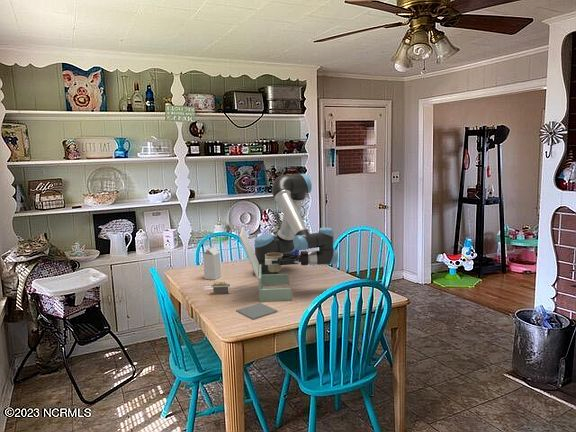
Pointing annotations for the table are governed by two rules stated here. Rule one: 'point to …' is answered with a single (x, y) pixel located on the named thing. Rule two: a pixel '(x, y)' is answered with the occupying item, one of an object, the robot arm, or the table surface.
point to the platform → (220, 288)
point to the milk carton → (211, 263)
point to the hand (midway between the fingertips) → (265, 259)
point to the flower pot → (274, 267)
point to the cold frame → (273, 294)
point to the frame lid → (249, 251)
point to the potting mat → (257, 311)
